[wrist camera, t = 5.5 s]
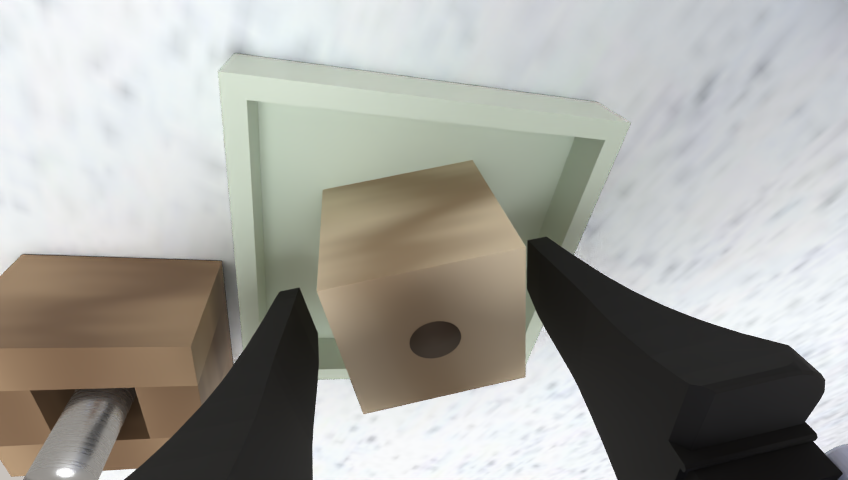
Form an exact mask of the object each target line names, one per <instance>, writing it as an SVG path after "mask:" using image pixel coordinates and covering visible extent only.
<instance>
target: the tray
mask: <svg viewBox="0 0 848 480" xmlns="http://www.w3.org/2000/svg"><path fill="white" fill-rule="evenodd" d="M218 78H219V89H220V101H221V112H222V123H223V134H224V145H225V156H226V167H227V179H228V190H229V201H230V212H231V223H232V234H233V245H234V257H235V268H236V279H237V290H238V301H239V312H240V323H241V335H242V346H243V351H244V349H245V347H246V346H247V344H248V343H249V341H250V340H251V338H252V336H253V335H254V333H255V332H256V330H257V328H258V327H259V325H260V323H261V322H262V320H263V318H264V317H265V315H266V313H267V312H268V310H269V308H270V306H271V305H272V303H273V301H274V299H275V298H276V296H277V295H278V293H279V292H280V291H284V290H289V289H294V288H299V287H300V290H301V292H302V295H303V297H304V300H305V302H306V305H307V307H308V310H309V312H310V315H311V317H312V320H313V322H314V325H315V327H316V330H317V332H318V346H319V370H318V380H324V379H350V378H349V375H348V372H347V370H346V367H345V364H344V362H343V359H342V357H341V354H340V351H339V349H338V346H337V344H336V341H335V338H334V336H333V333H332V330H331V328H330V325H329V323H328V320H327V317H326V315H325V312H324V309H323V307H322V304H321V302H320V299H319V296H318V294H317V276H318V259H319V243H320V226H321V209H322V193H323V190H324V189H329V188H334V187H339V186H344V185H349V184H354V183H359V182H364V181H369V180H374V179H379V178H384V177H389V176H394V175H399V174H404V173H409V172H414V171H419V170H424V169H429V168H434V167H439V166H444V165H450V164H455V163H460V162H465V161H470V160H473V162H474V163H475V165H476V167H477V168H478V170H479V171H480V173H481V175H482V176H483V178H484V180H485V181H486V183H487V184H488V186H489V188H490V189H491V191H492V193H493V194H494V196H495V197H496V199H497V201H498V202H499V204H500V206H501V207H502V209H503V210H504V212H505V214H506V215H507V217H508V219H509V220H510V222H511V223H512V225H513V227H514V228H515V230H516V232H517V233H518V235H519V236H520V238H521V240H522V241H523V243H524V245H525V246H526V359H525V365H526V363H527V361H528V358H529V356H530V354H531V351H532V349H533V347H534V345H535V342H536V340H537V338H538V335H539V333H540V331H541V329H542V326H543V324H542V322H541V320H540V318H539V316H538V314H537V312H536V310H535V307H534V305H533V303H532V300H531V298H530V295H529V293H528V290H527V240H531V239H536V238H541V237H548V238H549V239H551V240H552V241H554V242H555V243H557V244H558V245H560V246H561V247H562V248H564V249H565V250H567V251H568V252H570V253H571V254H573V255H574V253H575V251H576V248H577V246H578V244H579V241H580V239H581V237H582V234H583V232H584V230H585V228H586V225H587V223H588V221H589V218H590V216H591V214H592V212H593V209H594V207H595V205H596V202H597V200H598V198H599V195H600V193H601V191H602V189H603V186H604V184H605V182H606V179H607V177H608V175H609V173H610V170H611V168H612V166H613V163H614V161H615V159H616V156H617V154H618V152H619V150H620V147H621V145H622V143H623V140H624V138H625V136H626V134H627V131H628V129H629V127H630V124H631V122H629V121H627V120H626V119H624V118H623V117H621V116H619V115H618V114H616V113H615V112H613V111H611V110H610V109H608V108H607V107H605V106H603V105H602V104H600V103H598V102H593V101H586V100H578V99H571V98H564V97H556V96H549V95H541V94H534V93H526V92H519V91H511V90H504V89H497V88H489V87H482V86H474V85H467V84H459V83H452V82H445V81H437V80H430V79H422V78H415V77H407V76H400V75H392V74H385V73H378V72H370V71H363V70H355V69H348V68H340V67H333V66H325V65H318V64H311V63H303V62H296V61H288V60H281V59H273V58H266V57H258V56H251V55H244V54H236V53H234V54H233V55H232V56H231V58H230V59H229V60H228V61H227V62H226V63H225V64H224V65H223V66H222V67H221V68H220V70H219V71H218Z"/></svg>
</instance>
